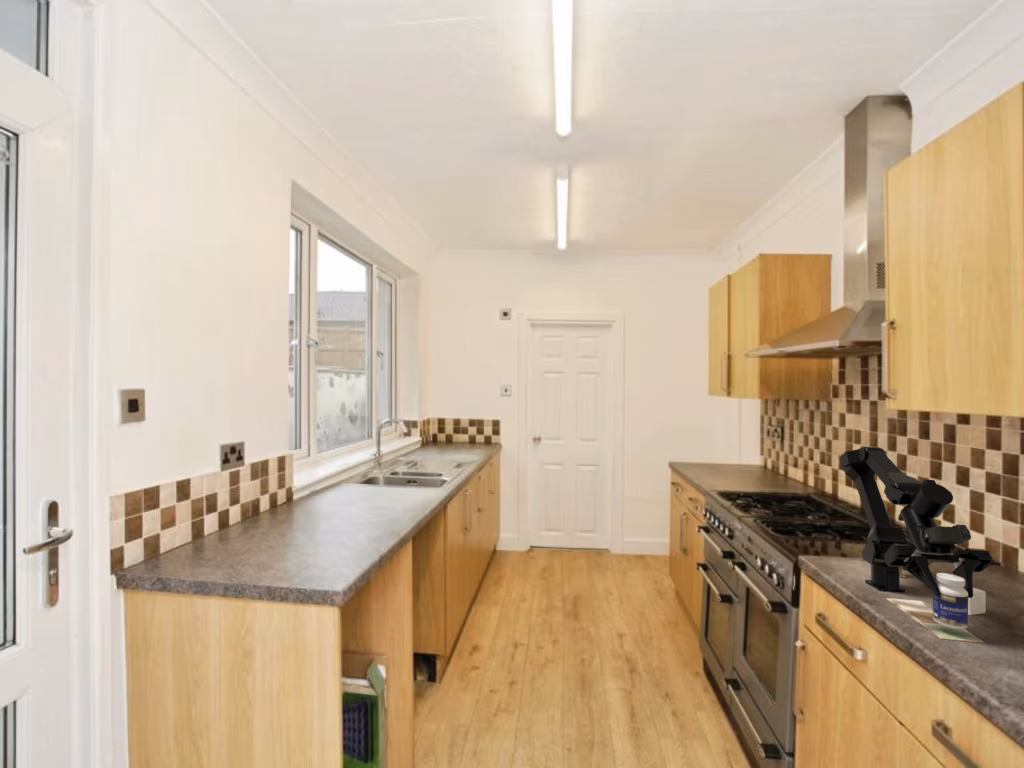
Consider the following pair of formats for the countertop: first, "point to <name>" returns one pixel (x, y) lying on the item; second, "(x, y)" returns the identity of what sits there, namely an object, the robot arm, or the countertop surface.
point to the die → (977, 602)
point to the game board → (924, 617)
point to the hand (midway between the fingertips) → (954, 595)
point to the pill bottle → (950, 601)
